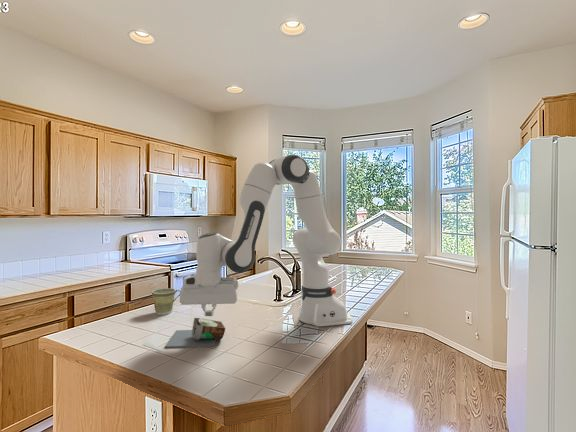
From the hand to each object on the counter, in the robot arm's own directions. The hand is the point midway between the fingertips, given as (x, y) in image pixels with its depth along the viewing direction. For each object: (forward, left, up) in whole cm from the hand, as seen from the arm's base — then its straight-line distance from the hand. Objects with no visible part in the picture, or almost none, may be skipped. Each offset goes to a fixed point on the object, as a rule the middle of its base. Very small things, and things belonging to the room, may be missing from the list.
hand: (209, 315), depth 119 cm
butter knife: (+13, +11, -9) cm, 19 cm away
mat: (+6, 0, -8) cm, 10 cm away
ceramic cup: (+24, -33, -8) cm, 42 cm away
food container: (-5, 0, -6) cm, 8 cm away
